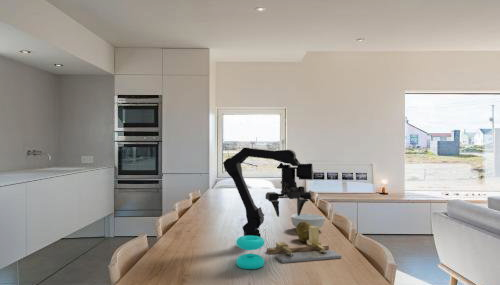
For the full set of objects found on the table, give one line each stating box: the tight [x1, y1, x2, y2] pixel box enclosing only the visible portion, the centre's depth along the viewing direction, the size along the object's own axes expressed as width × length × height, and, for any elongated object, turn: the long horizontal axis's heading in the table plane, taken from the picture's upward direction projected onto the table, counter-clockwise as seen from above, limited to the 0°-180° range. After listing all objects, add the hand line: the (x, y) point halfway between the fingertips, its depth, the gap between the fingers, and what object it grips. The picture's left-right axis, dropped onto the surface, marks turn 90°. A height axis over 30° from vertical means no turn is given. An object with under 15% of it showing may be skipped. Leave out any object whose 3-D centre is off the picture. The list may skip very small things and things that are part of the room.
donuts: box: [235, 235, 265, 270], centre depth 136 cm, size 10×10×10 cm
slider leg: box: [306, 226, 326, 252], centre depth 154 cm, size 4×12×8 cm, turn 15°
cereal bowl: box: [290, 213, 325, 229], centre depth 193 cm, size 17×17×7 cm
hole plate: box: [274, 249, 342, 264], centre depth 146 cm, size 24×8×1 cm, turn 105°
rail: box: [266, 241, 330, 255], centre depth 152 cm, size 26×12×3 cm, turn 105°
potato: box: [295, 222, 311, 244], centre depth 171 cm, size 8×13×8 cm, turn 171°
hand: (288, 216), depth 161 cm, fingers open, 9 cm apart
